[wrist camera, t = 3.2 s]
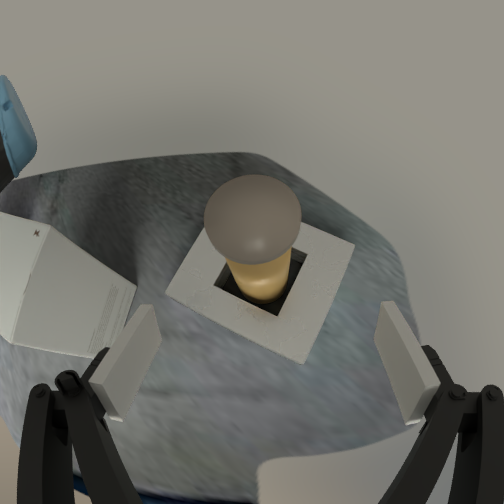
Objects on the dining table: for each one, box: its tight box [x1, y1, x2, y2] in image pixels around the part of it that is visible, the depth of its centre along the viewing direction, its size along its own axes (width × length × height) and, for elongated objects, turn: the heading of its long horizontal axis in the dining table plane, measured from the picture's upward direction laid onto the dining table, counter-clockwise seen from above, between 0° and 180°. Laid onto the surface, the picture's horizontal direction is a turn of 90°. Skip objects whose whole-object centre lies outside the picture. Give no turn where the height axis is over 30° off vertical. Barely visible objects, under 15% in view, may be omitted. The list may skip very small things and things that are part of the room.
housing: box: [165, 222, 355, 365], centre depth 28 cm, size 14×12×3 cm
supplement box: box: [0, 212, 137, 358], centre depth 22 cm, size 9×9×15 cm
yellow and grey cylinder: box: [204, 174, 302, 304], centre depth 23 cm, size 6×6×13 cm
